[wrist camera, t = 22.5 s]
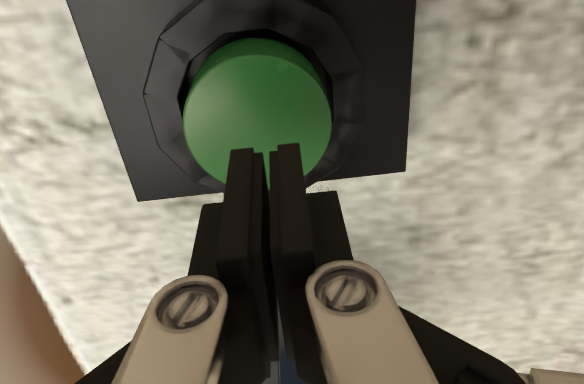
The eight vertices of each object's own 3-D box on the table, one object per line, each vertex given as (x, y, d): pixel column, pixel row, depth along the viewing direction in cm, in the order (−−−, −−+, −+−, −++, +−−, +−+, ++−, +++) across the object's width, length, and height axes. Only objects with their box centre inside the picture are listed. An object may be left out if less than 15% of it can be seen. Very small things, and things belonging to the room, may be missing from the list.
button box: (147, 176, 21) (127, 227, 18) (81, -29, 16) (36, -10, 13) (393, 148, 21) (417, 194, 18) (402, -65, 16) (438, -55, 13)
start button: (205, 169, 17) (199, 198, 16) (175, 45, 15) (165, 64, 13) (327, 155, 17) (334, 183, 16) (320, 29, 15) (329, 46, 13)
